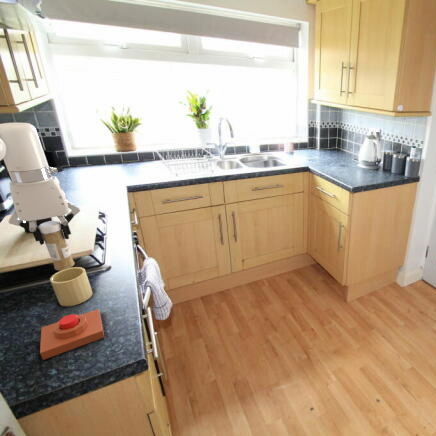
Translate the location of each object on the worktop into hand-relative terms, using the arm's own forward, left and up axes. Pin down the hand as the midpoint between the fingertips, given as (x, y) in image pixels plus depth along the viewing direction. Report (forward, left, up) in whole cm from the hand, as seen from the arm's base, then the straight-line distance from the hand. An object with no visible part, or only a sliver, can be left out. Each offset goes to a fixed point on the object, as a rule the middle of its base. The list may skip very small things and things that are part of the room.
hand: (54, 239), depth 86 cm
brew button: (-1, -18, -16) cm, 24 cm away
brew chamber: (0, 0, -20) cm, 20 cm away
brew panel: (-1, -18, -20) cm, 27 cm away
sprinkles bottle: (0, 0, -9) cm, 9 cm away
